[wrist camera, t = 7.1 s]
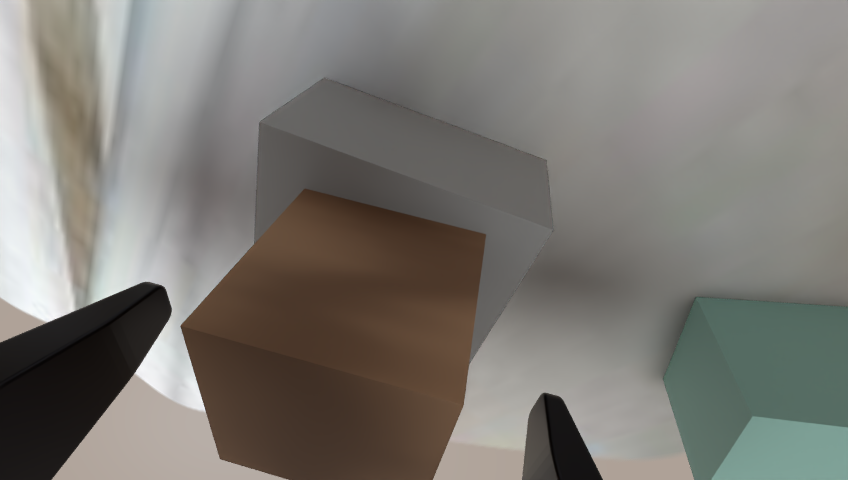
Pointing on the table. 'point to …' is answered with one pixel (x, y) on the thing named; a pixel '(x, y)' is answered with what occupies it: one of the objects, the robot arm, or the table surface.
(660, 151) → the table surface
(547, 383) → the table surface
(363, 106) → the slate block
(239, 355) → the walnut cube
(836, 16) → the table surface
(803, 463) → the teal cube
